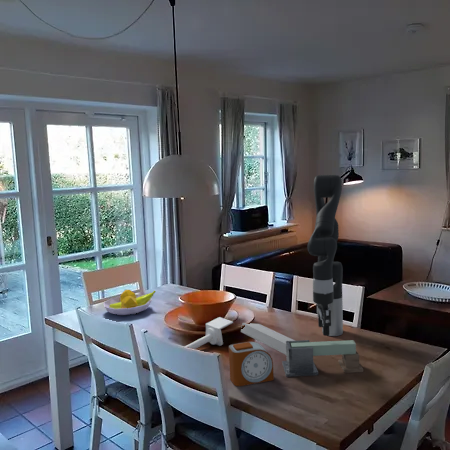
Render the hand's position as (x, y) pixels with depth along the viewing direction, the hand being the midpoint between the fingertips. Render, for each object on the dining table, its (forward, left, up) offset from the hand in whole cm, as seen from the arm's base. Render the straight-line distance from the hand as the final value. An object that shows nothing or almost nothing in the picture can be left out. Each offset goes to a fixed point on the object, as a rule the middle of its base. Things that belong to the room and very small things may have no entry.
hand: (323, 331), depth 176 cm
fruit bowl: (-81, -91, -15) cm, 122 cm away
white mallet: (-24, -49, -16) cm, 57 cm away
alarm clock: (+6, -29, -15) cm, 33 cm away
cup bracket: (0, -10, -15) cm, 18 cm away
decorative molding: (-30, -17, -16) cm, 38 cm away
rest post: (0, +10, -15) cm, 18 cm away
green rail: (0, 0, -9) cm, 9 cm away
